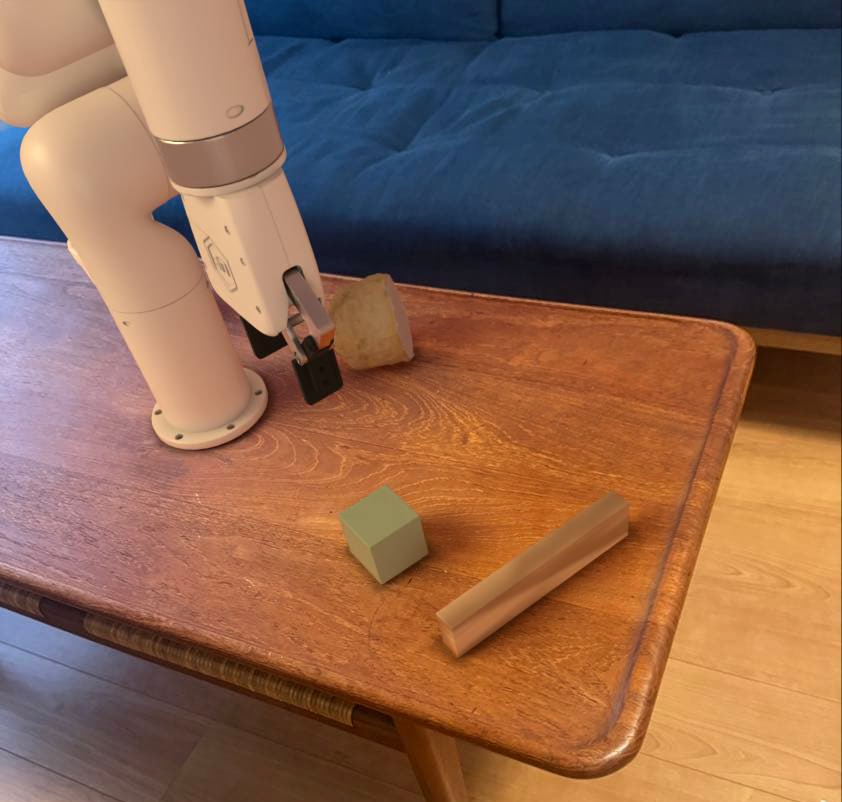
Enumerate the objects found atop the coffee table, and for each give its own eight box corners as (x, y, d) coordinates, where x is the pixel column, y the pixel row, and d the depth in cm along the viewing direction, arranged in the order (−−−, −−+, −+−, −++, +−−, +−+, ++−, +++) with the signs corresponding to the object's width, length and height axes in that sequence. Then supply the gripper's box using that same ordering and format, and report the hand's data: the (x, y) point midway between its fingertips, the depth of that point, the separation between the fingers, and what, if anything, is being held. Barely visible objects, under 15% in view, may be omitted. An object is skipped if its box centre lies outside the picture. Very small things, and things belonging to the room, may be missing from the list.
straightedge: (443, 641, 64) (435, 612, 61) (611, 522, 69) (611, 489, 66) (458, 658, 63) (451, 629, 60) (628, 535, 68) (629, 502, 65)
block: (350, 552, 72) (337, 514, 68) (396, 522, 73) (385, 483, 70) (381, 585, 69) (369, 547, 65) (429, 553, 70) (419, 515, 67)
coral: (433, 322, 80) (332, 301, 78) (408, 395, 88) (316, 377, 86) (433, 263, 86) (339, 241, 84) (410, 336, 94) (323, 318, 92)
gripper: (115, 131, 55) (209, 348, 68) (231, 214, 44) (314, 450, 58) (213, 89, 57) (285, 307, 70) (345, 159, 46) (400, 399, 60)
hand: (298, 370), depth 64 cm, fingers open, 7 cm apart
